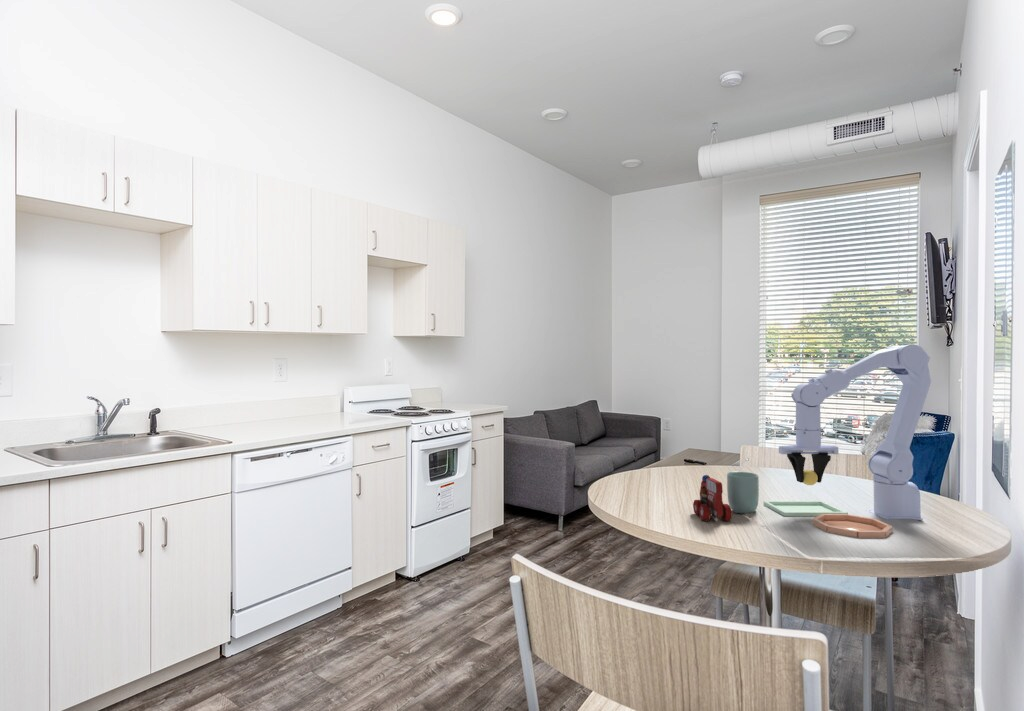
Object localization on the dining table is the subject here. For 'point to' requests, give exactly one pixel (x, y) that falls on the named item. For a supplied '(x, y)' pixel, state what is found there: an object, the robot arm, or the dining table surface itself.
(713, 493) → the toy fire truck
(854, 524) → the dish
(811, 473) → the ball
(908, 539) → the dining table surface
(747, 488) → the cup
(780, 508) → the tray
